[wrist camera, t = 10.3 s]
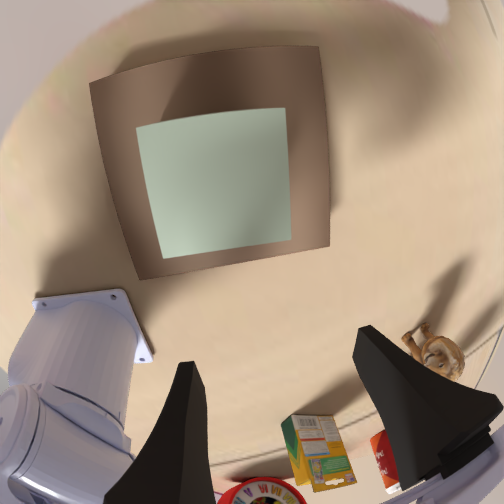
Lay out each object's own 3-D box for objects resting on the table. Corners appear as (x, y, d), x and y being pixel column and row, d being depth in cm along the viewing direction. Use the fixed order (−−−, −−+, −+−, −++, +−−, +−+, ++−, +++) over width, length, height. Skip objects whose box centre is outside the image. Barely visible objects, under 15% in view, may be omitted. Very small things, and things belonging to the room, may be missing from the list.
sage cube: (175, 213, 15) (163, 258, 11) (159, 121, 12) (135, 127, 8) (266, 199, 15) (291, 239, 11) (259, 108, 13) (285, 107, 9)
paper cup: (360, 441, 44) (382, 496, 31) (394, 422, 42) (420, 476, 30) (370, 445, 47) (390, 494, 35) (400, 428, 46) (424, 476, 34)
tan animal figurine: (395, 317, 26) (441, 381, 18) (433, 298, 26) (482, 353, 18) (384, 387, 33) (410, 437, 25) (415, 371, 33) (443, 417, 25)
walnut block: (147, 256, 19) (139, 280, 17) (107, 86, 13) (89, 83, 11) (313, 227, 20) (329, 246, 17) (300, 55, 14) (318, 46, 12)
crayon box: (279, 424, 33) (298, 499, 23) (291, 413, 32) (314, 492, 21) (320, 424, 35) (343, 490, 25) (333, 414, 34) (358, 482, 24)
